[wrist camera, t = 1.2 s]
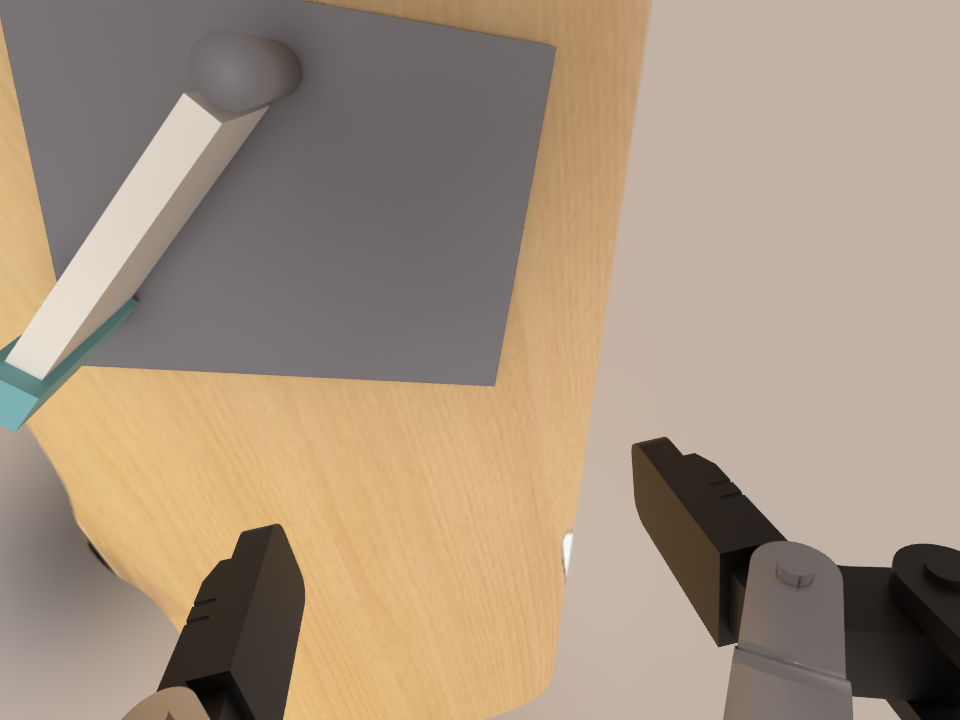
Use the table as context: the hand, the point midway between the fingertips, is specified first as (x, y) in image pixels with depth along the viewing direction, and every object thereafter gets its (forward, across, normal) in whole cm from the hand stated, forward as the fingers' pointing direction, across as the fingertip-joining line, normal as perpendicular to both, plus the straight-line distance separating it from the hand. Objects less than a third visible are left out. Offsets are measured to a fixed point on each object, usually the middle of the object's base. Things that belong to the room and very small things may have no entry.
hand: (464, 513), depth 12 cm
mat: (+23, +6, -5) cm, 24 cm away
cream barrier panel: (+21, +11, -7) cm, 24 cm away
